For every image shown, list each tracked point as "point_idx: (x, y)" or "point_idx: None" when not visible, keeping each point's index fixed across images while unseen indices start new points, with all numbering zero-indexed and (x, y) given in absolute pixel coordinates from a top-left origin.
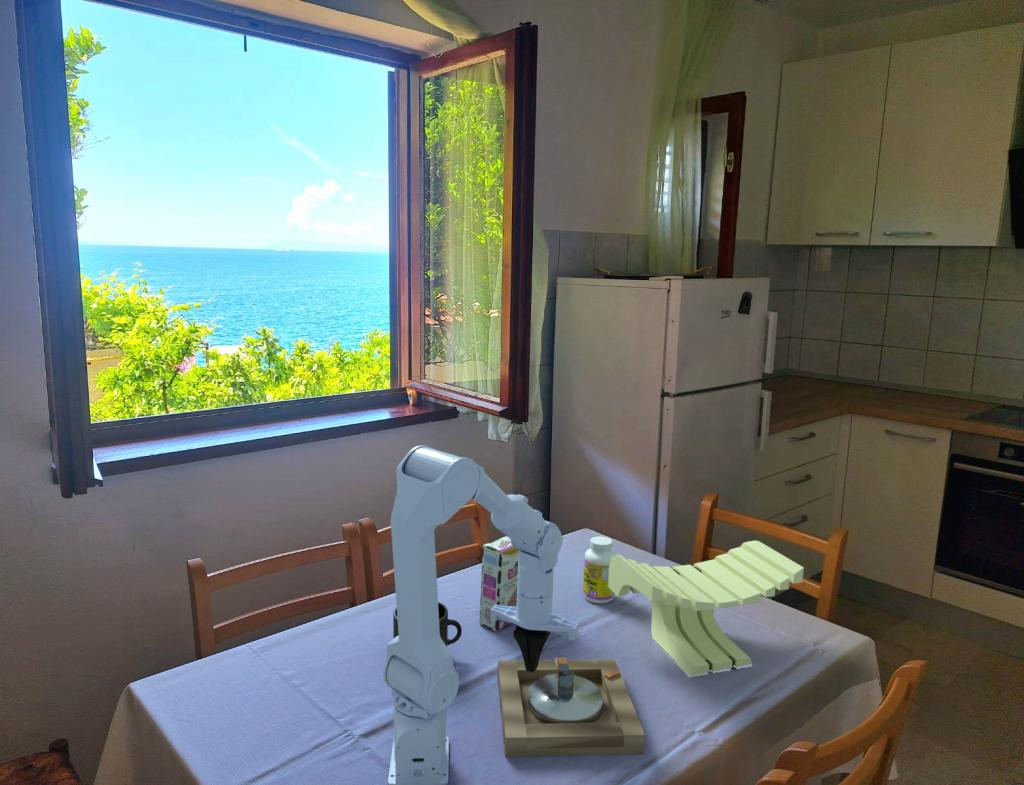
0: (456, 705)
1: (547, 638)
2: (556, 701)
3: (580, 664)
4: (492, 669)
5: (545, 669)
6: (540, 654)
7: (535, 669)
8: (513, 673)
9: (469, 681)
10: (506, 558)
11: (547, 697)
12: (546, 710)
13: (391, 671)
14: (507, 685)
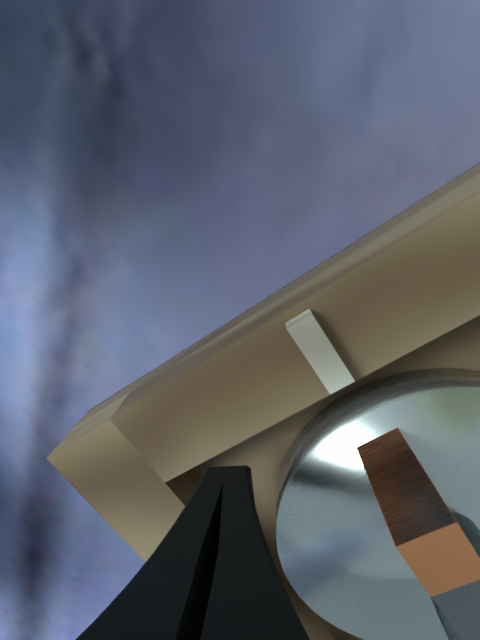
0: (89, 579)
1: (306, 638)
2: (420, 586)
3: (443, 278)
4: (41, 377)
5: (278, 418)
6: (257, 518)
7: (253, 494)
8: (166, 509)
9: (32, 475)
10: None
11: (376, 581)
12: (401, 638)
13: None
14: None
